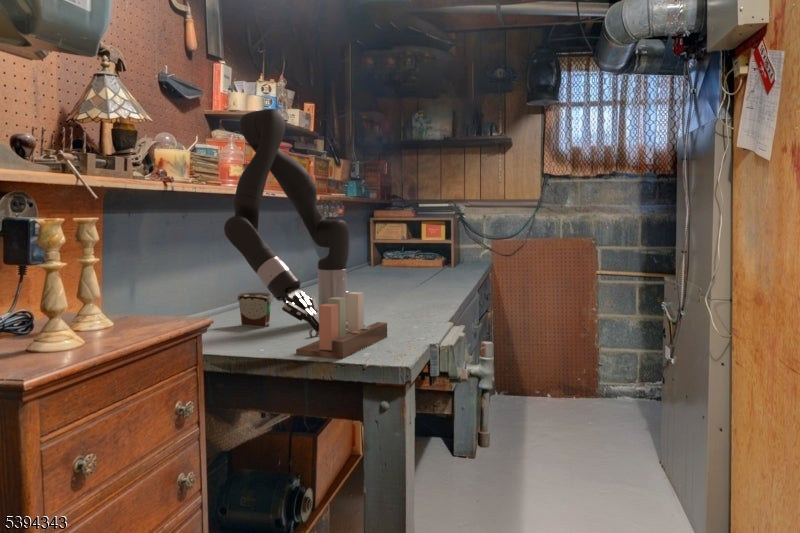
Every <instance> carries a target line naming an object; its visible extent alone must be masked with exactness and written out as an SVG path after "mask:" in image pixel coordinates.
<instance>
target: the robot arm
mask: <svg viewBox="0 0 800 533" xmlns="http://www.w3.org/2000/svg"><path fill="white" fill-rule="evenodd" d="M285 122H286V121H285V119H284V116H283V115H282V113H280V112H279V110H277V109H275V108H268V109H267V108H265V109H261V110H256V111H255V110H254V111H251V112H247V113H245V114H244V115H243V114H242V116H241V119H240V123H239V126H240V128H239V129H240V132H241V134H242V136H243V139H245V141H246V142H247V144H248V145H249V147H250V148H251V149H252V150H253V151H254V152H255V153H254V155H253V157H252V158H251V159H250V161H249V163H248V165H247V166H246V167H245V169H244V170H243V172H242V173H241V174H240V177H239V180H238V182H237V186H236V190H235V194H234V199H233V208H234V215H233V216H231V217H230V218H228V219H227V220H226V221H225V223H224V227H223V232H224V235H225V237H226V238H227V239H228V241H229V242H230V243H231V244H232V246H233V247H235V249H237V251H239V252H240V253H241V254H242V256H243V257H244V259H245V260H246V262H247V263H248V265H249V266H250V268H251V269H252V270H253V271H254V272H255V274H256V275H257V276H258V278H259V280H260V281H261V283H262V284H263V285H264V286H265V288H267V289H268V291H269V293H270V294H271V295H272V297H274V298H275V299H276V301H277V302H282V303H283V304H284V305H283V306H282V308H281V309H282V311H283V312H285V313H286V314H288V315H289V316H292V317H293V318H295V319H297V321H298V320H299V321H305V322H307V323H308V324H309V325H310V327H311V329H312V328H313V329H314V330H313V331H315V333H316V332H317V331H319V316H317V313H319V305H323V304H328V299H329V298H333V297H341V298H346V322H347V293H350V291H348V290H347V288H348V287H347V282H348V281H347V264H348V260H349V252H350V249H349V247H350V246H349V245H350V232H349V231H350V230H349V226H348V224H347V222H346V221H345V220H343V219H336V218H335V219H331V218H329V219H327V218H325V217H324V216H323V215H322V213H321V211H319V209H318V206H317V196H318V194H317V192H318V191H317V186H316V183H315V181H314V179H313V178H312V177H311V175H310V173H309V172H308V170H307V168H306V167H304V166H303V165H302V164H301V163H300V162H298V161H297V160H295V159H294V158H292V157H291V156H290V155H288V154H287V153H285V152H284V151H283V150H282V149H280V146H281V144H282V141H283V138H284V137H285V132H286V125H285V124H286V123H285ZM269 173H270V174H272V176H273V177H274V179H275V180H276V181H277V183H278V185H279V186H280V188H281V189H282V191H283V193H284V194H285V196H286V197H287V198H288V200H289V201H290V202H291V204H292V206H293V207H294V208H295V210H296V212H297V214H298V215H299V216H300V218H301V220H302V221H303V223H304V225H305V227H306V230H307V231H308V234H309V235H310V237H311V239H312V241H313V242H314V243H315V245H317V246H318V247H321V248H327V249H328V254H327V255H326V256H325V257H323V258H321V259H319V260H318V262H317V284H318V286H317V292H318V294H317V300H318V301H317V300H316V297H315V296H314V295H311V296H308V295H307V294H306V292H304V291H303V289H301V281H300V279H299V278H298V277H297V276H296V275H295V273H294V272H293V271H292V270H291V269H290V268H289V266H288V265H287V264H286V262H284V261H283V260H282V259H281V258H280V257H279V256H278V254H276V252H275V251H274V250H273V249H272V248H271V246H269V245H268V244H267V243H266V242H265V241H264V239H263V238H262V236H261V235H260V234H259V232H258V231H259V221H260V220H259V218H260V216H259V215H260V208H261V204H262V202H263V197H264V191H265V186H266V183H267V180H268V176H269V175H270V174H269ZM317 302H318V304H317Z"/></svg>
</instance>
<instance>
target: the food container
mask: <svg viewBox="0 0 800 533" xmlns="http://www.w3.org/2000/svg"><path fill="white" fill-rule="evenodd" d="M236 300H237V301H238V304H239V313H240V322H241V323H240V325H241V326H244V325H246V327H254V326H255V327H256V328H264V327H266V328H268V327H270V321H271V320H270V318H271V305H272V304H271V303H272V302H273V301H274V299H273V295H272V293H271V292H269V293H268V292H261V291H260V292H258V291H257V292H241V293H238V294H237V299H236ZM255 327H254V328H255Z"/></svg>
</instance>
